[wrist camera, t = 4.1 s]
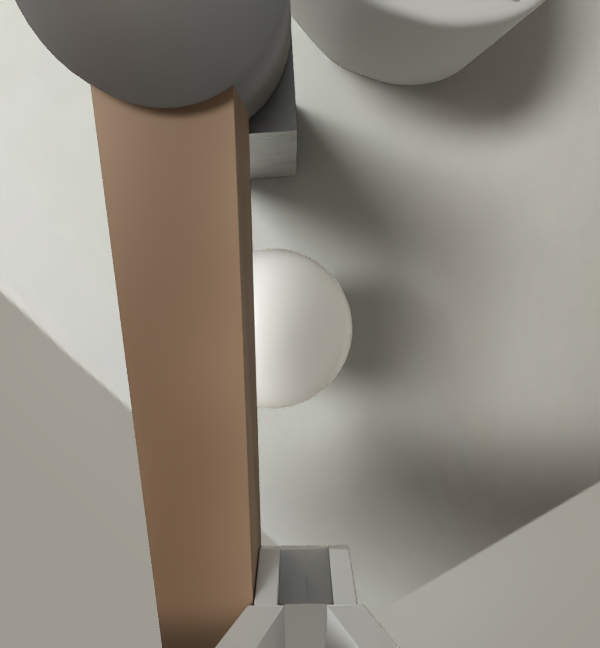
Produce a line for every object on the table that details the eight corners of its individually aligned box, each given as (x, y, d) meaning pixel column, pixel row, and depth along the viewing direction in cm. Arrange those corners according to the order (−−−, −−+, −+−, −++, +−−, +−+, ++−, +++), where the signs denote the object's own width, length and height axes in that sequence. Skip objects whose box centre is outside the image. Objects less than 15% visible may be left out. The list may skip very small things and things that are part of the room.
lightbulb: (297, 211, 23) (298, 219, 12) (353, 305, 24) (398, 384, 14) (204, 271, 24) (130, 328, 13) (264, 358, 25) (242, 470, 15)
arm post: (291, 102, 21) (283, -90, 7) (295, 175, 22) (297, 130, 8) (222, 106, 21) (83, -76, 7) (229, 180, 22) (121, 142, 8)
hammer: (290, -94, 7) (288, -257, 4) (292, 654, 12) (291, 771, 10) (81, -96, 7) (-39, -264, 4) (170, 655, 12) (138, 773, 10)
